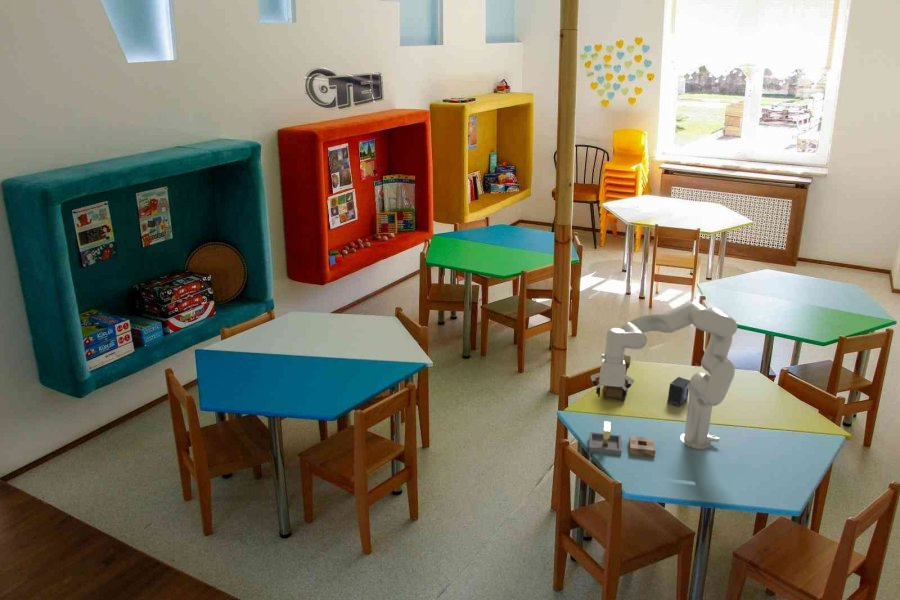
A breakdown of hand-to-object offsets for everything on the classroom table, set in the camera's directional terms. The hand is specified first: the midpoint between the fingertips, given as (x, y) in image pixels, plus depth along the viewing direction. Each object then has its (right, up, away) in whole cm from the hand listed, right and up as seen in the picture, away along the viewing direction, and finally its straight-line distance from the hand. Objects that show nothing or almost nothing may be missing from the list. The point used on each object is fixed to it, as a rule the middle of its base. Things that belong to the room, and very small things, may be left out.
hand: (610, 396), depth 319 cm
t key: (-1, -21, +8) cm, 23 cm away
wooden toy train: (+14, -6, +57) cm, 59 cm away
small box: (+42, -9, +50) cm, 66 cm away
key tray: (-1, -22, +8) cm, 24 cm away
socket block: (+14, -24, +5) cm, 28 cm away
